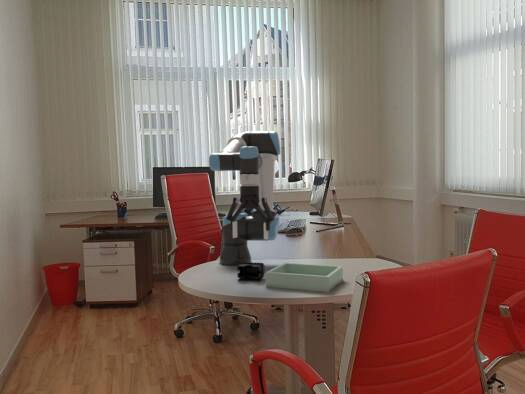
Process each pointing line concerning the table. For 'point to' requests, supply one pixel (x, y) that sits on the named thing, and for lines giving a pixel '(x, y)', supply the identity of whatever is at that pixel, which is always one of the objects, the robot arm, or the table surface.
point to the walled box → (304, 277)
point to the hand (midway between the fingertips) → (250, 238)
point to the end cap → (250, 271)
